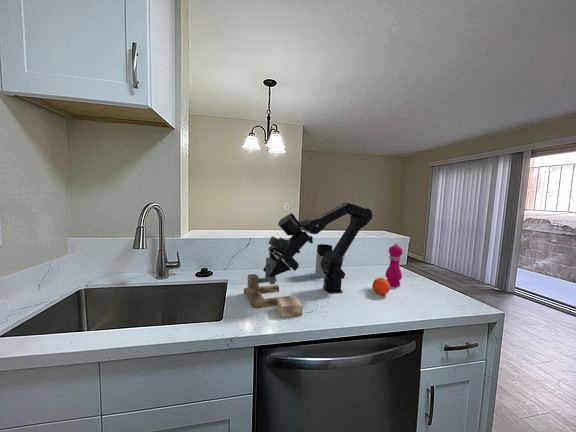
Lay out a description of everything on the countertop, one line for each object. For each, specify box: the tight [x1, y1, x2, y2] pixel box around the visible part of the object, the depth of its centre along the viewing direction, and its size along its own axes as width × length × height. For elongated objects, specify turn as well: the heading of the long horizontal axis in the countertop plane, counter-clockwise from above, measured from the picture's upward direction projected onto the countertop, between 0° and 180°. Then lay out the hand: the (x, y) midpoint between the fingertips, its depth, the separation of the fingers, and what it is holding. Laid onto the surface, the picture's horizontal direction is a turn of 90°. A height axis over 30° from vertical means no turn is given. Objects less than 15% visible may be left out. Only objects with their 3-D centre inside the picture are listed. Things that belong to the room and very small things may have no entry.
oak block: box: [276, 296, 304, 318], centre depth 87 cm, size 7×7×4 cm
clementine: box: [371, 277, 391, 296], centre depth 107 cm, size 8×7×7 cm
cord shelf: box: [243, 273, 291, 309], centre depth 97 cm, size 14×14×9 cm
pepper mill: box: [384, 241, 404, 288], centre depth 119 cm, size 7×7×20 cm
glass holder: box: [313, 243, 346, 279], centre depth 128 cm, size 9×14×15 cm, turn 79°
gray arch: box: [264, 257, 276, 285], centre depth 96 cm, size 2×6×8 cm, turn 24°
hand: (266, 273), depth 96 cm, fingers closed on gray arch, 6 cm apart
